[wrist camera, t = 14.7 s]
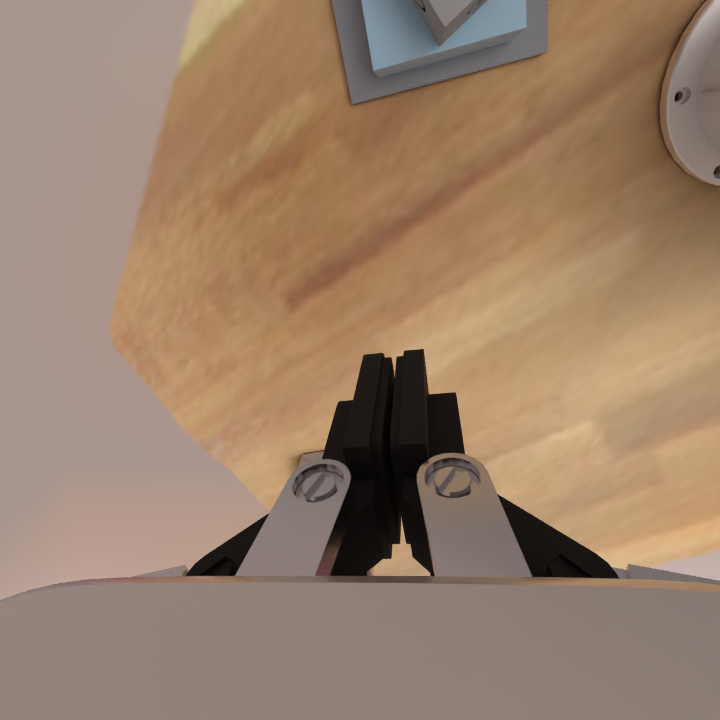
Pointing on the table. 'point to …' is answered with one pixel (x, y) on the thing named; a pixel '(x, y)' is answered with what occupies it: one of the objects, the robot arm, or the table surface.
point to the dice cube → (446, 15)
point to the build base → (431, 74)
